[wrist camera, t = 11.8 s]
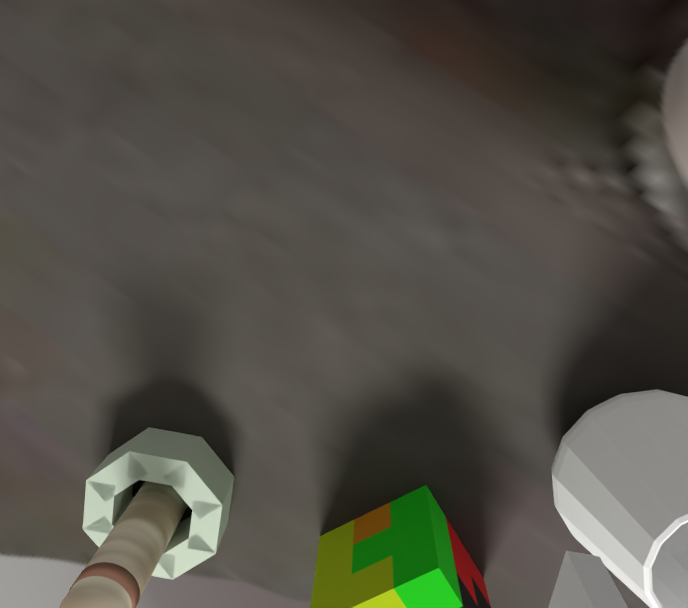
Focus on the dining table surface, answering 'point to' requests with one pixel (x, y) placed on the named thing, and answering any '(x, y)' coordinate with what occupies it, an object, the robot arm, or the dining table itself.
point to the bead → (170, 469)
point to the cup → (631, 491)
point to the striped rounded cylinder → (129, 551)
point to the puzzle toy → (397, 560)
